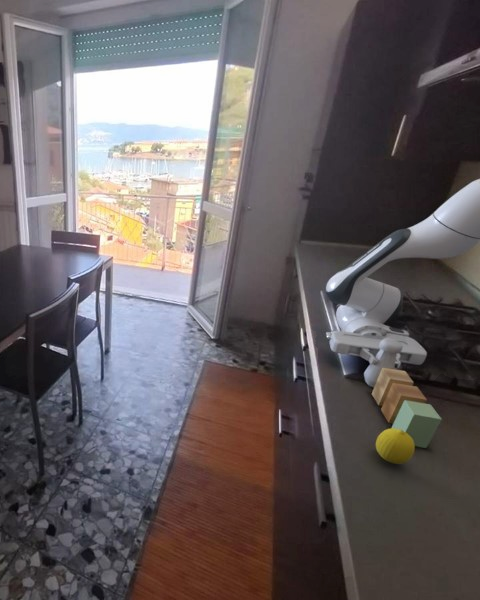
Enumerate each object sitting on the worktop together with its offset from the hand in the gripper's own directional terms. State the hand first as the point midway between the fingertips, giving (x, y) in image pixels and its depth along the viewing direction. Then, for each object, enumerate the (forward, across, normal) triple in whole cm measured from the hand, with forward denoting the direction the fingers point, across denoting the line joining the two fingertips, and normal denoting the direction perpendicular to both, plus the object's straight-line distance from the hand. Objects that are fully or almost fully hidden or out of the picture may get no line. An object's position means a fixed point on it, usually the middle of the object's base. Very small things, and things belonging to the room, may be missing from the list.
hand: (386, 363), depth 89 cm
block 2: (+12, 0, +7) cm, 14 cm away
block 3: (+18, 0, +7) cm, 19 cm away
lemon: (+26, -6, +7) cm, 28 cm away
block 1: (+6, 0, +7) cm, 9 cm away
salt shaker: (-1, 0, +7) cm, 7 cm away
